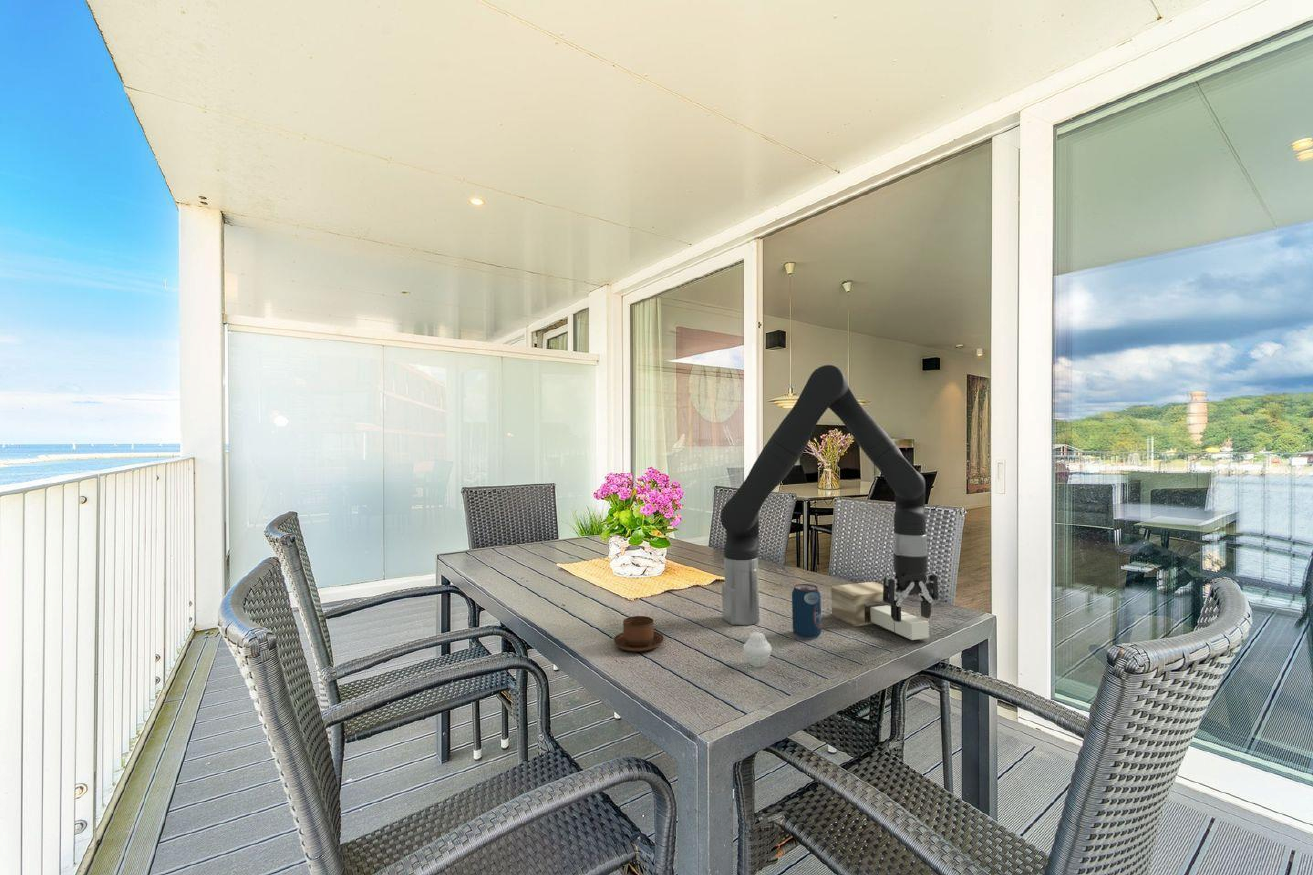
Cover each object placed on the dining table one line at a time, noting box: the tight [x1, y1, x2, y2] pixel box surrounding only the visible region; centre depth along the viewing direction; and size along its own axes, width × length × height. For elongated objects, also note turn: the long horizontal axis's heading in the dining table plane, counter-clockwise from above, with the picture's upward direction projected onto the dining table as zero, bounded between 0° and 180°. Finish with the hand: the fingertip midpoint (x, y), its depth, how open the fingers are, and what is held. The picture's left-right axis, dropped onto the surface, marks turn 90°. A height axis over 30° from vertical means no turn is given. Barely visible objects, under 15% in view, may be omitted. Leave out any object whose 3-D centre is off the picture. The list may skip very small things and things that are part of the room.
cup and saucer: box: [613, 615, 664, 653], centre depth 128 cm, size 12×12×6 cm
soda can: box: [791, 583, 822, 640], centre depth 133 cm, size 7×7×12 cm
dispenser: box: [830, 581, 898, 627], centre depth 145 cm, size 14×11×8 cm
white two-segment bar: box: [870, 605, 930, 641], centre depth 133 cm, size 5×14×4 cm, turn 17°
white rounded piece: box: [742, 631, 773, 668], centre depth 116 cm, size 6×6×7 cm
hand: (911, 619), depth 128 cm, fingers open, 8 cm apart
